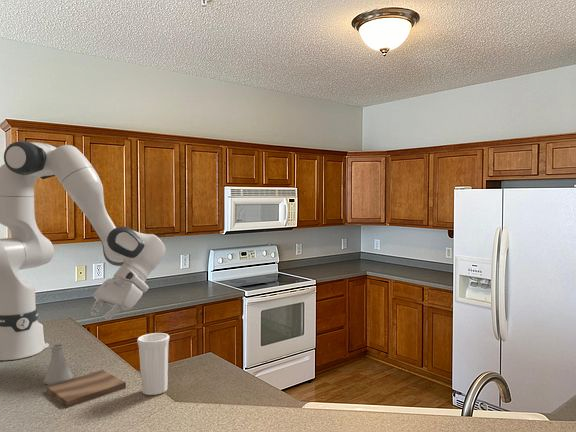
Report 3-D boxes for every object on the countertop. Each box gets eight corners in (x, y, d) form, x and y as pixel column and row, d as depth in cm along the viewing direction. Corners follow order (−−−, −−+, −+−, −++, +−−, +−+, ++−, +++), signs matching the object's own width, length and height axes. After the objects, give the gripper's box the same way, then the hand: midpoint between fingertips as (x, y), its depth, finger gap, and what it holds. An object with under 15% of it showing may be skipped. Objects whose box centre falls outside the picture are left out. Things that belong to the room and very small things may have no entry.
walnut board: (46, 391, 117) (46, 386, 117) (102, 374, 128) (102, 369, 128) (67, 407, 107) (67, 401, 107) (125, 387, 118) (125, 382, 118)
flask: (60, 386, 120) (59, 350, 120) (37, 385, 122) (36, 349, 121) (78, 376, 127) (77, 342, 127) (56, 375, 129) (55, 341, 128)
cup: (138, 388, 118) (136, 335, 118) (169, 383, 121) (167, 331, 121) (139, 400, 111) (137, 343, 110) (172, 394, 114) (171, 339, 113)
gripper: (106, 270, 145) (77, 305, 139) (137, 276, 131) (106, 315, 125) (120, 281, 149) (91, 316, 142) (151, 288, 135) (122, 327, 128)
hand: (99, 316), depth 133 cm, fingers open, 8 cm apart
